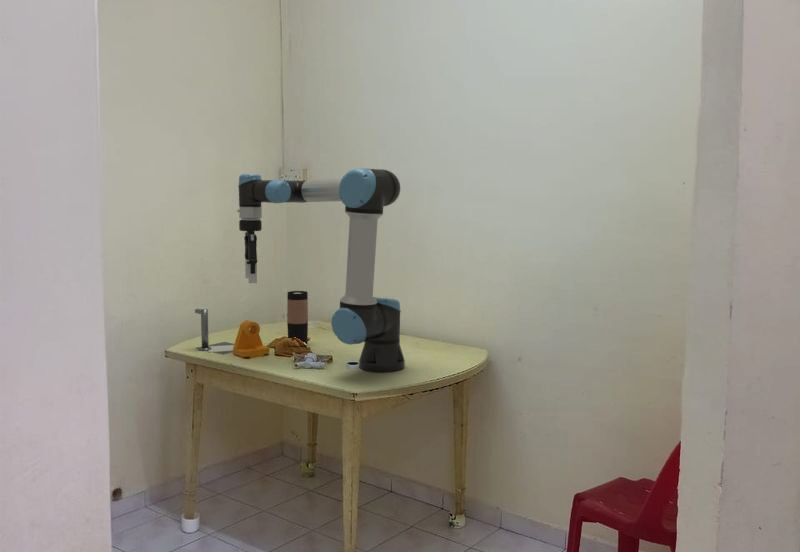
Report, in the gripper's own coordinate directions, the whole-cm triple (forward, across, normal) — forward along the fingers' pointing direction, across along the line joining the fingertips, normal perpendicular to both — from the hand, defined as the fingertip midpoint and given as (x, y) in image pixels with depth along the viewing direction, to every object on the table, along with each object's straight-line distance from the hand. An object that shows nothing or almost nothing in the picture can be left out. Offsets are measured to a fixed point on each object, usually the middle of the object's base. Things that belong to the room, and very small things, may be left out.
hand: (251, 280), depth 248 cm
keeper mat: (+27, -11, -9) cm, 30 cm away
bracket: (+27, 0, 0) cm, 27 cm away
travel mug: (+27, -13, +18) cm, 35 cm away
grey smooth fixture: (+26, -11, -16) cm, 33 cm away
